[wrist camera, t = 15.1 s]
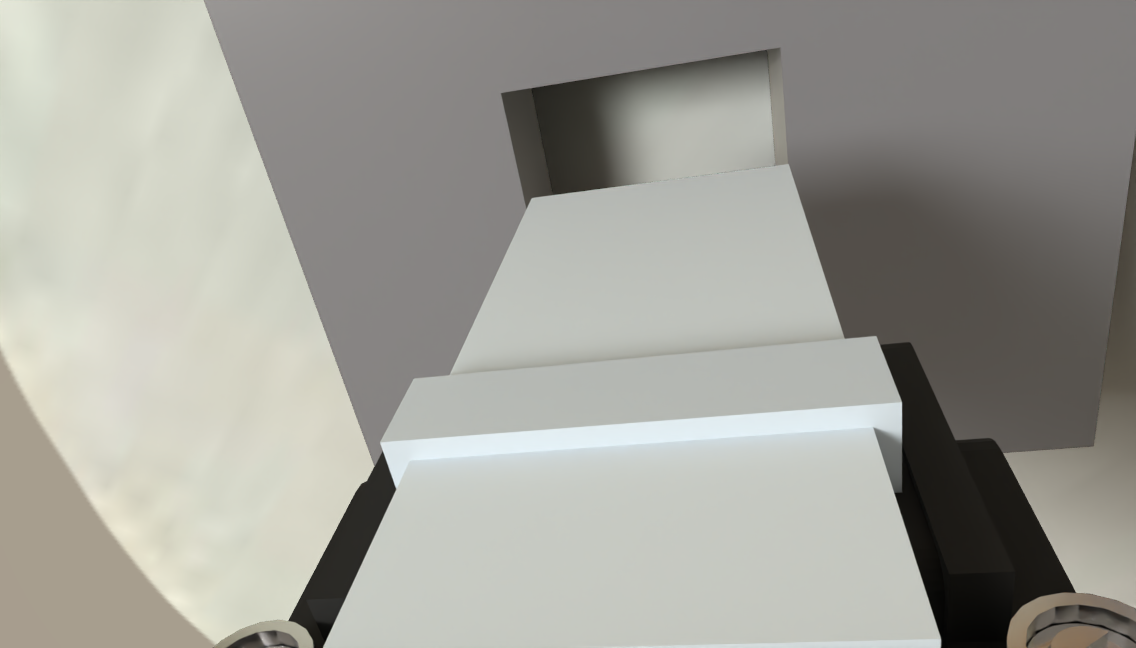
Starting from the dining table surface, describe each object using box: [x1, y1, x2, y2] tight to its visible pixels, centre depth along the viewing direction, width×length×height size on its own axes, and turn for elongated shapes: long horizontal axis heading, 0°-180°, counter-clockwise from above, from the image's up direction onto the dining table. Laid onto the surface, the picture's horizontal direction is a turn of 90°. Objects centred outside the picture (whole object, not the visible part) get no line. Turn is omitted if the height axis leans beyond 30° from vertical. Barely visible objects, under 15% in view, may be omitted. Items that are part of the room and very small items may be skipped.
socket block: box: [204, 0, 1136, 466], centre depth 20 cm, size 18×19×4 cm
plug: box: [323, 164, 941, 648], centre depth 11 cm, size 5×5×10 cm
